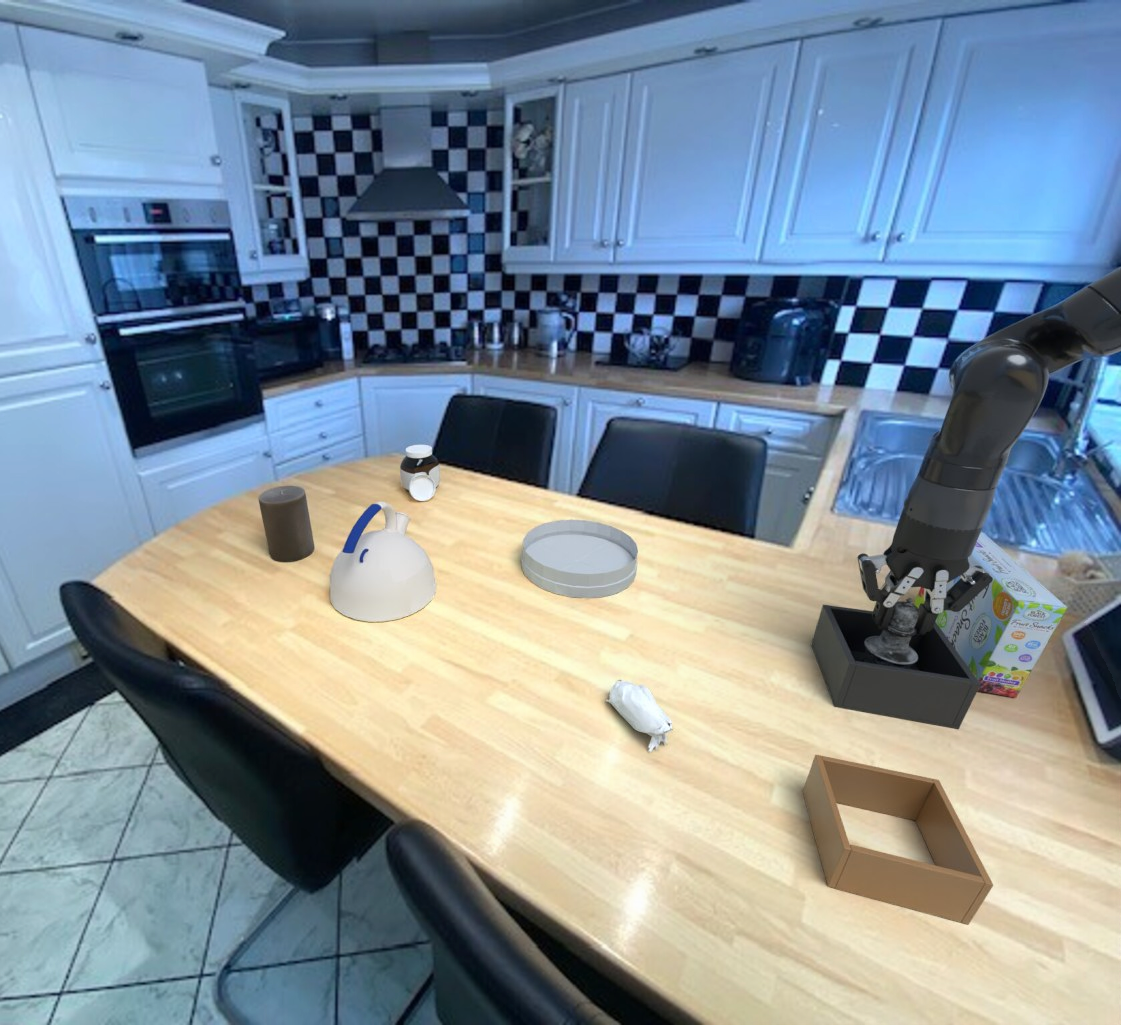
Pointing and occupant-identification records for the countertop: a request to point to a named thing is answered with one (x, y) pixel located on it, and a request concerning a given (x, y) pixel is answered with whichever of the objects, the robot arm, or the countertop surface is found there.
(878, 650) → the dark grey chess piece
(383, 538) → the kettle
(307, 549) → the pillar candle
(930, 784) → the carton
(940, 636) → the open box
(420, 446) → the spread jar
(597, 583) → the dish
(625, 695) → the white oblong lumpy piece
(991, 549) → the snack box
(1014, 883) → the countertop surface
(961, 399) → the robot arm
